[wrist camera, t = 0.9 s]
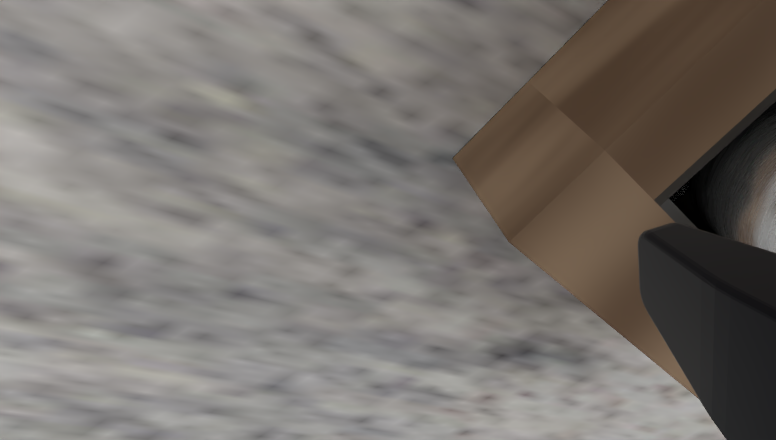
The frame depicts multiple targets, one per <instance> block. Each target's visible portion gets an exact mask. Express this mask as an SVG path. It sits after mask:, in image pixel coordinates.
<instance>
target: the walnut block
mask: <svg viewBox="0 0 776 440" xmlns="http://www.w3.org/2000/svg"><path fill="white" fill-rule="evenodd" d="M775 101H776V0H608V1H607V2H606V3H605V4H604V5H603V6H602V7H601V8H600V9H599V10H598V11H597V12H596V13H595V14H594V15H593V16H592V17H591V18H590V19H589V20H588V21H587V22H586V23H585V24H584V25H583V26H582V27H581V28H580V29H579V30H578V31H577V32H576V33H575V34H574V36H573V37H572V38H571V39H570V40H569V41H568V42H567V43H566V44H565V45H564V46H563V47H562V48H561V49H560V50H559V51H558V52H557V53H556V54H555V55H554V56H553V57H552V58H551V59H550V60H549V61H548V62H547V63H546V64H545V65H544V66H543V67H542V68H541V69H540V70H539V71H538V72H537V73H536V74H535V75H534V76H533V77H532V78H531V79H530V80H529V81H528V82H527V83H526V84H525V85H524V86H523V87H522V88H521V89H520V90H519V91H518V92H517V93H516V94H515V95H514V96H513V97H512V98H511V99H510V100H509V101H508V102H507V104H506V105H505V106H504V107H503V108H502V109H501V110H500V111H499V112H498V113H497V114H496V115H495V116H494V117H493V118H492V119H491V120H490V121H489V122H488V123H487V124H486V125H485V126H484V127H483V128H482V129H481V130H480V131H479V132H478V133H477V134H476V135H475V136H474V137H473V138H472V139H471V140H470V141H469V142H468V143H467V144H466V145H465V146H464V147H463V148H462V149H461V150H460V151H459V152H458V153H457V154H456V155H455V156H454V157H453V160H454V161H455V163H456V164H457V166H458V167H459V169H460V170H461V172H462V173H463V175H464V176H465V177H466V179H467V180H468V182H469V183H470V185H471V186H472V188H473V189H474V191H475V192H476V194H477V195H478V197H479V198H480V200H481V201H482V203H483V204H484V206H485V207H486V209H487V210H488V212H489V213H490V215H491V216H492V218H493V219H494V220H495V222H496V223H497V225H498V226H499V228H500V229H501V231H502V232H503V234H504V235H505V237H506V238H507V240H508V241H509V242H510V243H511V244H512V245H513V246H514V247H516V248H517V249H518V250H519V251H520V252H522V253H523V254H524V255H525V256H527V257H528V258H529V259H530V260H531V261H533V262H534V263H535V264H536V265H537V266H539V267H540V268H541V269H542V270H543V271H545V272H546V273H547V274H548V275H550V276H551V277H552V278H553V279H554V280H556V281H557V282H558V283H559V284H560V285H562V286H563V287H564V288H565V289H566V290H568V291H569V292H570V293H571V294H573V295H574V296H575V297H576V298H577V299H579V300H580V301H581V302H582V303H583V304H585V305H586V306H587V307H588V308H589V309H591V310H592V311H593V312H594V313H596V314H597V315H598V316H599V317H600V318H602V319H603V320H604V321H605V322H606V323H608V324H609V325H610V326H611V327H612V328H614V329H615V330H616V331H617V332H619V333H620V334H621V335H622V336H623V337H625V338H626V339H627V340H628V341H629V342H631V343H632V344H633V345H634V346H635V347H637V348H638V349H639V350H640V351H642V352H643V353H644V354H645V355H646V356H648V357H649V358H650V359H651V360H652V361H654V362H655V363H656V364H657V365H658V366H660V367H661V368H662V369H663V370H665V371H666V372H667V373H668V374H669V375H671V376H672V377H673V378H674V379H675V380H677V381H678V382H679V383H680V384H681V385H683V386H684V387H685V388H686V389H688V390H689V391H690V392H691V393H692V394H694V395H695V396H696V397H697V398H698V396H697V394H696V393H695V391H694V389H693V388H692V386H691V384H690V383H689V381H688V379H687V378H686V376H685V374H684V373H683V371H682V369H681V368H680V366H679V364H678V363H677V361H676V359H675V358H674V356H673V354H672V352H671V351H670V349H669V347H668V346H667V344H666V342H665V341H664V339H663V337H662V336H661V334H660V332H659V331H658V329H657V327H656V326H655V324H654V322H653V321H652V319H651V317H650V316H649V314H648V312H647V310H646V309H645V306H644V304H643V301H642V298H641V294H640V287H639V264H638V239H639V236H640V235H641V234H642V233H643V232H644V231H646V230H649V229H653V228H656V227H659V226H662V225H665V224H669V223H680V224H684V225H687V226H690V227H693V228H697V229H700V230H703V231H706V232H710V233H713V234H716V235H718V234H717V233H716V232H715V231H713V230H712V229H711V228H710V227H709V226H708V225H707V224H705V223H704V222H703V221H702V220H701V219H700V218H699V217H698V215H697V214H696V213H695V211H694V209H693V207H692V204H691V201H690V196H689V190H688V191H687V192H686V193H685V194H684V195H683V196H682V197H681V198H680V199H678V200H677V201H676V202H675V203H673V202H672V201H671V200H670V199H669V198H670V197H671V196H672V195H673V194H674V193H675V192H676V191H677V190H679V189H680V188H681V187H682V186H683V185H684V184H685V183H686V182H687V181H688V180H690V179H691V178H692V177H693V176H694V175H695V174H696V173H697V172H698V171H699V170H701V169H702V168H703V167H704V166H705V165H706V164H707V163H708V162H709V161H710V160H712V159H713V158H714V157H715V156H716V155H717V154H718V153H719V152H720V151H721V150H723V149H724V148H725V147H726V146H727V145H728V144H729V143H730V142H731V141H732V140H734V139H735V138H736V137H737V136H738V135H739V134H740V133H741V132H742V131H743V130H745V129H746V128H747V127H748V126H749V125H750V124H751V123H752V122H753V121H754V120H756V119H757V118H758V117H759V116H760V115H761V114H762V113H763V112H764V111H765V110H767V109H768V108H769V107H770V106H771V105H772V104H773V103H774V102H775ZM698 399H699V398H698Z"/></svg>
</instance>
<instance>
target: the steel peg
mask: <svg viewBox="0 0 776 440" xmlns="http://www.w3.org/2000/svg"><path fill="white" fill-rule="evenodd" d="M689 196H690V201H691V204H692V207H693V209H694V211H695V213H696V214H697V215H698V217H699V218H700V219H701V220H702V221H703V222H704V223H705V224H707V225H708V226H709V227H710V228H711V229H712V230H713V231H715V232H716V233H717V234H718V235H719V236H723V237H726V238H729V239H732V240H736V241H739V242H742V243H745V244H749V245H752V246H755V247H758V248H762V249H765V250H768V251H771V252H775V253H776V101H775V102H774V103H773V104H772V105H771V106H770V107H769V108H768V109H767V110H765V111H764V112H763V113H762V114H761V115H760V116H759V117H758V118H757V119H756V120H754V121H753V122H752V123H751V124H750V125H749V126H748V127H747V128H746V129H745V130H743V131H742V132H741V133H740V134H739V135H738V136H737V137H736V138H735V139H734V140H732V141H731V142H730V143H729V144H728V145H727V146H726V147H725V148H724V149H723V150H721V151H720V152H719V153H718V154H717V155H716V156H715V157H714V158H713V159H712V160H710V161H709V162H708V163H707V164H706V165H705V166H704V167H703V168H702V169H701V170H699V171H698V172H697V173H696V174H695V175H694V176H693V177H692V178H691V179H690V180H689Z"/></svg>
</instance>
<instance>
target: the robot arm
mask: <svg viewBox="0 0 776 440" xmlns="http://www.w3.org/2000/svg"><path fill="white" fill-rule="evenodd" d="M638 264H639V287H640V294H641V298H642V301H643V304H644V306H645V309H646V310H647V312H648V314H649V316H650V317H651V319H652V321H653V322H654V324H655V326H656V327H657V329H658V331H659V332H660V334H661V336H662V337H663V339H664V341H665V342H666V344H667V346H668V347H669V349H670V351H671V352H672V354H673V356H674V358H675V359H676V361H677V363H678V364H679V366H680V368H681V369H682V371H683V373H684V374H685V376H686V378H687V379H688V381H689V383H690V384H691V386H692V388H693V389H694V391H695V393H696V394H697V396H698V398H699V399H700V401H701V403H702V404H703V406H704V407H705V409H706V411H707V412H708V414H709V415H710V417H711V419H712V420H713V421H714V423H715V424H716V425H717V427H718V428H719V430H720V431H721V432H722V434H723V435H724V437H725V438H726V439H727V440H776V253H775V252H771V251H768V250H765V249H762V248H758V247H755V246H752V245H749V244H745V243H742V242H739V241H736V240H732V239H729V238H726V237H723V236H719V235H716V234H713V233H710V232H706V231H703V230H700V229H697V228H693V227H690V226H687V225H684V224H680V223H669V224H665V225H662V226H659V227H656V228H653V229H649V230H646V231H644V232H643V233H642V234H641V235H640V236H639V239H638Z"/></svg>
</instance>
